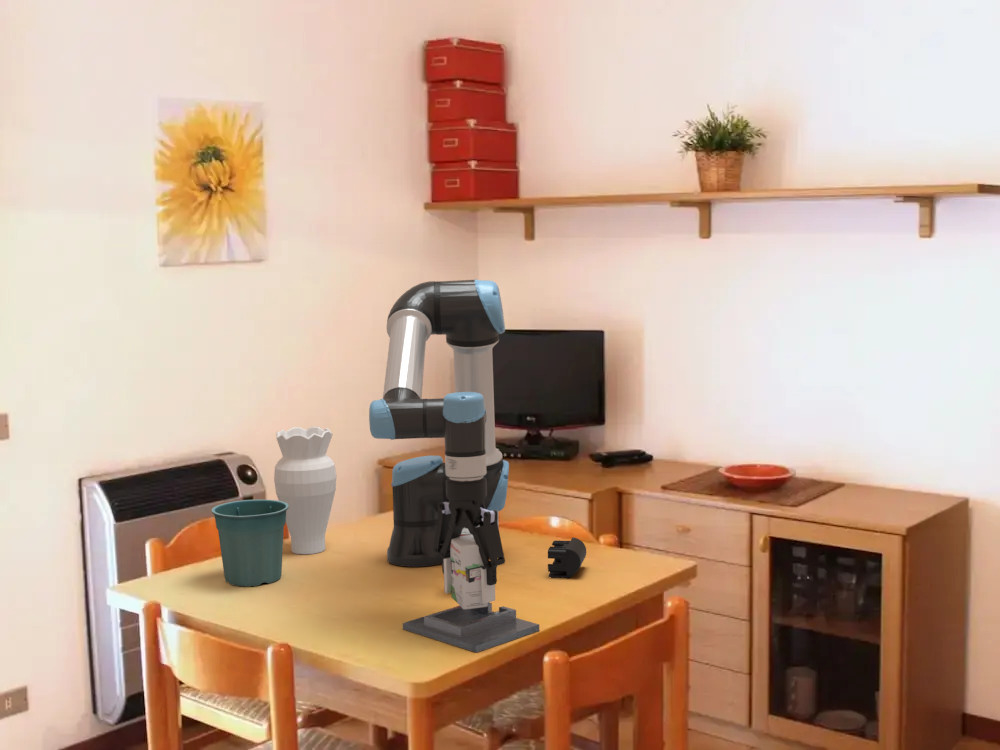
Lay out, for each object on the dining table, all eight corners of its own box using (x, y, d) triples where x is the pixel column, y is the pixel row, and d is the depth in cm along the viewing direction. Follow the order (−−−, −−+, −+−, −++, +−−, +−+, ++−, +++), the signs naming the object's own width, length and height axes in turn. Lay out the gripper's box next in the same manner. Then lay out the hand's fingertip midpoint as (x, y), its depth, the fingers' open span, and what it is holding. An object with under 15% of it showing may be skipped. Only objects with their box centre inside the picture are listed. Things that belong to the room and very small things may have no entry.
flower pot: (307, 577, 260) (303, 505, 259) (244, 594, 248) (240, 518, 247) (262, 565, 271) (259, 496, 270) (200, 581, 260) (196, 508, 258)
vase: (264, 552, 284) (258, 431, 281) (312, 540, 295) (307, 424, 292) (304, 561, 274) (298, 436, 271) (352, 548, 285) (347, 428, 282)
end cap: (580, 579, 253) (580, 548, 252) (547, 578, 254) (547, 547, 254) (586, 567, 263) (586, 537, 262) (555, 566, 264) (554, 536, 263)
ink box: (450, 597, 223) (448, 536, 222) (475, 594, 225) (474, 533, 224) (462, 610, 215) (460, 546, 214) (489, 607, 217) (487, 543, 216)
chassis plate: (402, 629, 222) (402, 612, 222) (469, 608, 234) (468, 592, 234) (476, 652, 208) (475, 634, 208) (542, 629, 220) (542, 612, 219)
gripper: (411, 473, 223) (415, 590, 225) (493, 487, 207) (496, 612, 209) (441, 467, 228) (445, 581, 230) (523, 480, 212) (526, 603, 215)
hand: (469, 596), depth 220 cm, fingers closed on ink box, 9 cm apart
